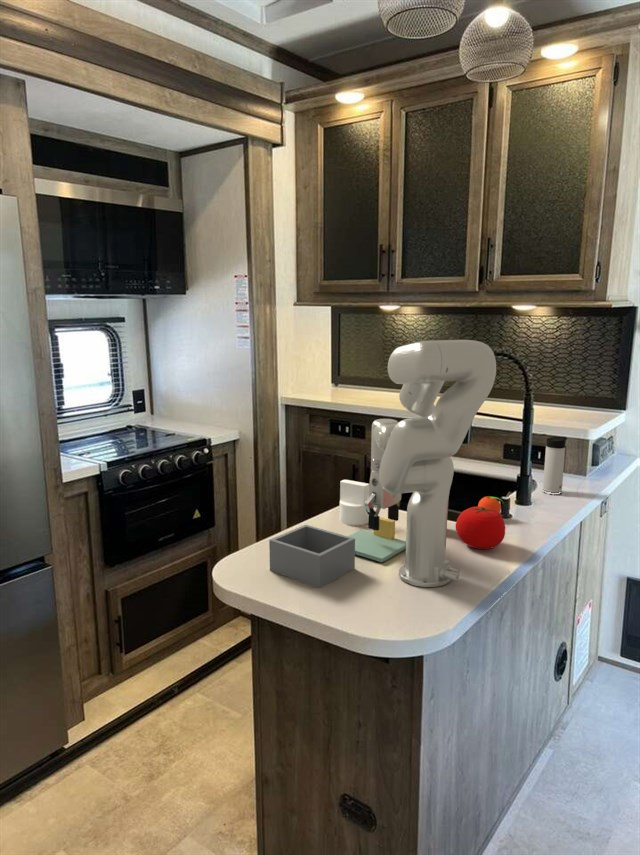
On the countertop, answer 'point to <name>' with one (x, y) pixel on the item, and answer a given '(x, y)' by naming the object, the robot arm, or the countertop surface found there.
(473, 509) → the tomato
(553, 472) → the travel mug
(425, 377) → the robot arm
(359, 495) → the cylinder with rectangular tab
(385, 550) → the door
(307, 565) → the tub
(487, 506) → the clementine
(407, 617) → the countertop surface
